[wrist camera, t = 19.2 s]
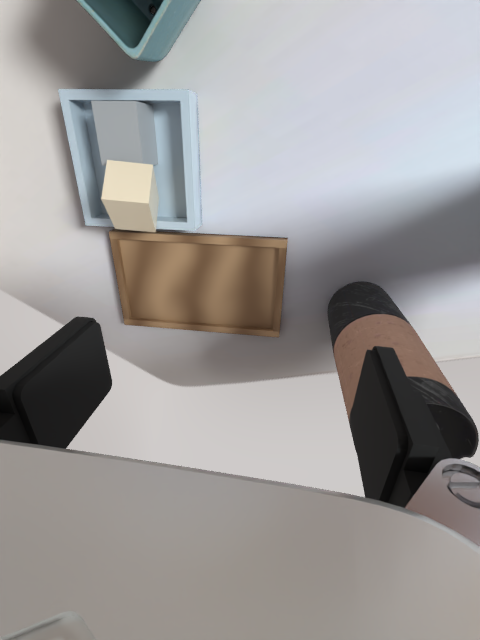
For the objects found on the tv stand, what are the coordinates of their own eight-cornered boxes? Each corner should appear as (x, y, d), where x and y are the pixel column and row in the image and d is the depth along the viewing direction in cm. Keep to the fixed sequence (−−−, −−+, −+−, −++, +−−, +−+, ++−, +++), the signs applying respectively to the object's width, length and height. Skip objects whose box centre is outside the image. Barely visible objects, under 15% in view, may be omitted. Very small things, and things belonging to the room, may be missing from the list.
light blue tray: (197, 94, 31) (188, 89, 28) (202, 224, 36) (195, 230, 34) (76, 93, 32) (57, 88, 29) (99, 219, 38) (85, 225, 35)
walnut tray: (287, 237, 36) (287, 240, 35) (279, 332, 42) (279, 337, 41) (113, 229, 38) (108, 231, 37) (128, 320, 44) (124, 324, 43)
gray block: (136, 101, 28) (143, 166, 30) (153, 105, 31) (158, 164, 33) (91, 100, 28) (101, 165, 30) (113, 105, 32) (121, 163, 34)
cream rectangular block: (159, 198, 35) (152, 164, 30) (155, 232, 34) (148, 203, 29) (120, 194, 34) (107, 159, 29) (115, 228, 33) (101, 199, 28)
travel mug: (320, 286, 38) (347, 408, 21) (390, 272, 36) (485, 393, 19) (329, 341, 41) (359, 487, 24) (394, 331, 39) (478, 481, 22)
